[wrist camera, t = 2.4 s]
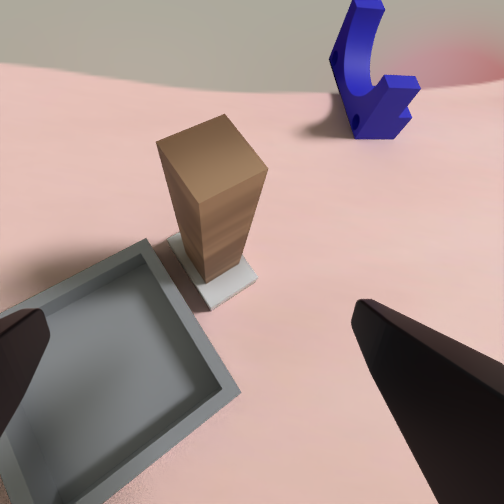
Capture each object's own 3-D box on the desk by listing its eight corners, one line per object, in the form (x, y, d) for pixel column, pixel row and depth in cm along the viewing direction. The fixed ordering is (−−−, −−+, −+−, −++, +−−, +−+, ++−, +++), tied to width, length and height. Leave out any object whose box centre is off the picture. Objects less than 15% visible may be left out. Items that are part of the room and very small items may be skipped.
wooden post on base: (255, 282, 21) (308, 195, 9) (211, 311, 20) (209, 252, 8) (213, 222, 22) (215, 80, 11) (169, 246, 21) (117, 115, 9)
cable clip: (392, 140, 29) (436, 89, 23) (353, 140, 28) (389, 87, 22) (363, 61, 33) (394, 1, 27) (328, 59, 32) (353, -3, 26)
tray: (61, 526, 15) (32, 559, 12) (-16, 341, 17) (-52, 339, 15) (237, 387, 18) (241, 392, 16) (153, 250, 21) (146, 237, 18)
